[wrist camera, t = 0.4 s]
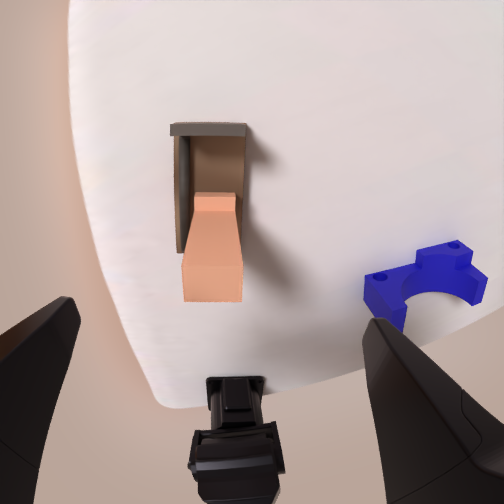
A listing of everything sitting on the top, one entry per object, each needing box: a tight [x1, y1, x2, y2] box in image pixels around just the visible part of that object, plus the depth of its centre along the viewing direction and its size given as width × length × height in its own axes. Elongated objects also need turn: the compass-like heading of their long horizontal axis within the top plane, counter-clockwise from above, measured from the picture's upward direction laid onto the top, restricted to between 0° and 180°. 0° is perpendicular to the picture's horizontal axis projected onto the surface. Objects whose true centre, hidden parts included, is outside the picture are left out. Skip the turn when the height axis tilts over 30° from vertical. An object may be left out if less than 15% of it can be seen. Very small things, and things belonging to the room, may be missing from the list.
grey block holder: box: [170, 122, 246, 253], centre depth 20 cm, size 10×5×4 cm, turn 177°
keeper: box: [181, 192, 243, 302], centre depth 18 cm, size 4×3×9 cm
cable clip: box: [364, 240, 488, 333], centre depth 25 cm, size 12×4×6 cm, turn 99°
